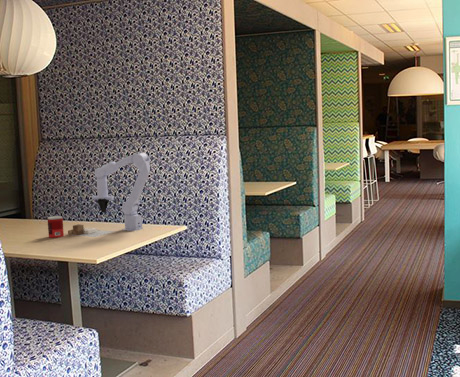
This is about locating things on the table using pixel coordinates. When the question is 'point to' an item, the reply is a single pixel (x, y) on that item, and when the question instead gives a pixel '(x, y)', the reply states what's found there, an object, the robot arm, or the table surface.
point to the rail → (70, 232)
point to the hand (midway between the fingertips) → (103, 212)
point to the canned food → (55, 227)
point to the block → (78, 229)
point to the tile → (89, 230)
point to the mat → (96, 233)
